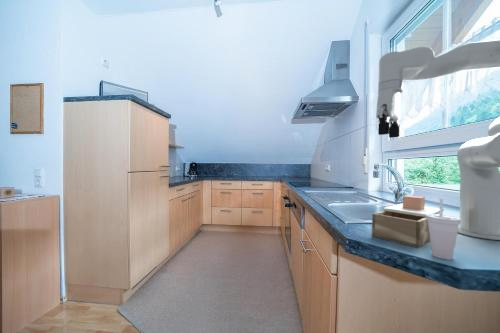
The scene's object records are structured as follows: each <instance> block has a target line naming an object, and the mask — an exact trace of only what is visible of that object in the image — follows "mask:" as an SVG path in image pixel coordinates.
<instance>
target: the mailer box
mask: <svg viewBox="0 0 500 333" xmlns="http://www.w3.org/2000/svg"><path fill="white" fill-rule="evenodd" d="M371 215H372V216H371V221H372V223H371V237H374V238H379V239H382V240H387V241H390V242H395V243H396V244H397V243H398V244H401V245H406V246H409V247H413V248H418V249H420V248H422V247H423V246H424V245H426V244H427V243H429V242H431V241H430V234H429V227H428V220H427V219H426V217H423V216H416V215H410V214H403V213H397V212H391V211H384V210H380V211H376V212H374V213H372V214H371Z"/></svg>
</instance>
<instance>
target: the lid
mask: <svg viewBox="0 0 500 333" xmlns="http://www.w3.org/2000/svg"><path fill="white" fill-rule="evenodd" d="M425 201H426V200H425V196H417V195H415V196H414V195H407V194H406V195H403V196H402V203H398V204H394V205H390V206H385V207H383V208H382V211H391V212H397V213H403V214H410V215H416V216H423V217H426V215H427V214H440V207H439V208H438V207H431V206H426V205H425V204H426V203H425ZM443 212H444V208H443Z"/></svg>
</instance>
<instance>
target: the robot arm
mask: <svg viewBox="0 0 500 333" xmlns="http://www.w3.org/2000/svg"><path fill="white" fill-rule="evenodd" d="M497 68H500V39H499V38H498V39H490V40H482V41H476V42H475V41H473V42H468V43H465V44H462V45H460V46H457V47H455V48H453V49H450V51H447V52H446V53H444V54H441V55H438V56H435V51H434V50H433V48H432V47H429V46H418V47H414V48H410V49H406V50H402V51H391V52H387V53H385V54H383V55H381V57H380V58H379V62H378V80H377V81H378V84H377V85H378V86H377V87H378V90H377V95H378V96H377V102H376V119H377V120H378V135H379V136H381V135H388V137H389V138H399V137H400V123H401V122H400V121H401V120H400V119H401V114H402V113H401V112H402V110H401V109H402V103H401V93H403V91H404V81H423V80H428V79H436V78H439V77H443V76H447V75H452V74H457V73H460V72H465V71H467V72H468V71H474V70H486V69H487V70H488V69H497ZM487 135H488V136H486V137H479V138H475V139H471V140H470V139H469V141H466V142H465V143H463V144H462V145H460V147H459V148H458V150H457V154H456V158H457V159H456V160H457V164H458V167H459V178H460V179H459V218H460V219H461V224H459V227H458V232H457V234H458V233H459V234H462V235H463V236H464V235H465V236H468V237H472V238H478V239H484V240H485V239H486V240H492V241H500V170H499V168H500V116H498V117H497V118H496V119H495V120H494V121H493V122H492V123H491V124H490V125H489V126H488V129H487Z"/></svg>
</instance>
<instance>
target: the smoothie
mask: <svg viewBox="0 0 500 333" xmlns="http://www.w3.org/2000/svg"><path fill="white" fill-rule="evenodd" d="M443 200H444V199H443V198H439V208H440V213H439V214H427V215H426V219H427V220H428V227H429V234H430V241H429V242H430V246H431V247H430V248H431V254H432V256H434V257H436V258H438V259H443V260H448V261H449V260H453V258H454V252H455V248H456V242H457V236H458V227H459V226H460V224H461V219H460V217H457V216H452V215H447V214H443V213H444V211H443V209H444V208H443V207H444V206H443V202H444V201H443Z"/></svg>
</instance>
